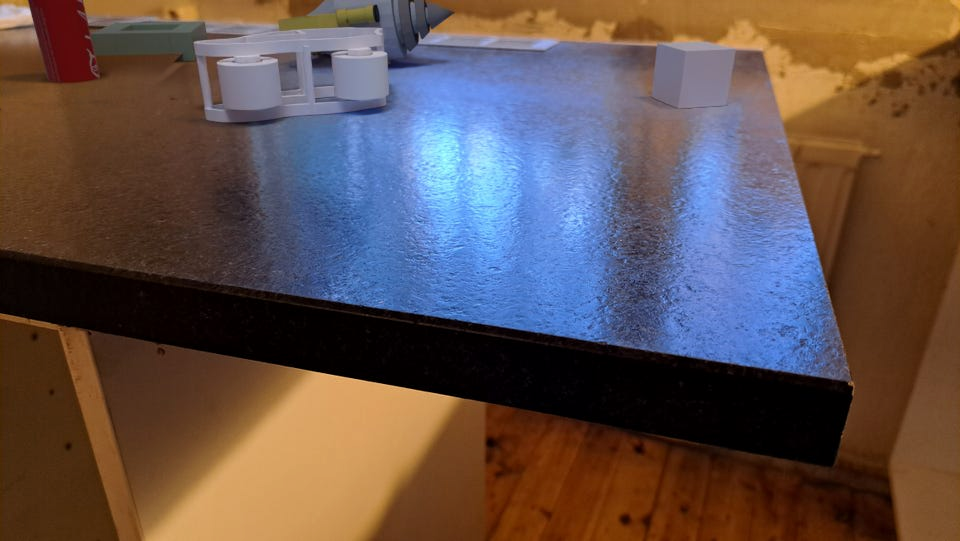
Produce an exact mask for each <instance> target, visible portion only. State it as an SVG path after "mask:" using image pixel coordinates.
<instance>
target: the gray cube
mask: <svg viewBox="0 0 960 541" xmlns="http://www.w3.org/2000/svg"><path fill="white" fill-rule="evenodd" d="M655 51H656V52H655V61H654V70H653V79H652V89H651V98H652V99H655V100H657V101H659V102H661V103H663V104H665V105H666V104H667V105H668V106H671V107H673V108H675V109H677V110H679V109H695V108H710V107H712V108H714V107H726V106H728V100H729V95H730V89H731V82H732V76H733V69H734V63H735V58H736V57H735V56H736V51H737V49H736V48H733V47H729V46H725V45H721V44H716V43H713V42H709V41H705V40H704V41H703V40H702V41H680V42H675V41H674V42H657V43H656V50H655Z"/></svg>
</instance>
